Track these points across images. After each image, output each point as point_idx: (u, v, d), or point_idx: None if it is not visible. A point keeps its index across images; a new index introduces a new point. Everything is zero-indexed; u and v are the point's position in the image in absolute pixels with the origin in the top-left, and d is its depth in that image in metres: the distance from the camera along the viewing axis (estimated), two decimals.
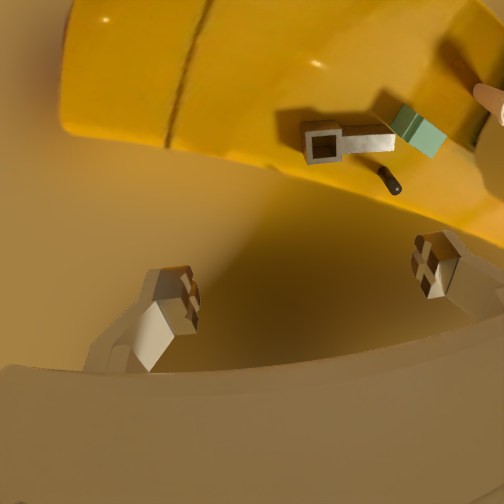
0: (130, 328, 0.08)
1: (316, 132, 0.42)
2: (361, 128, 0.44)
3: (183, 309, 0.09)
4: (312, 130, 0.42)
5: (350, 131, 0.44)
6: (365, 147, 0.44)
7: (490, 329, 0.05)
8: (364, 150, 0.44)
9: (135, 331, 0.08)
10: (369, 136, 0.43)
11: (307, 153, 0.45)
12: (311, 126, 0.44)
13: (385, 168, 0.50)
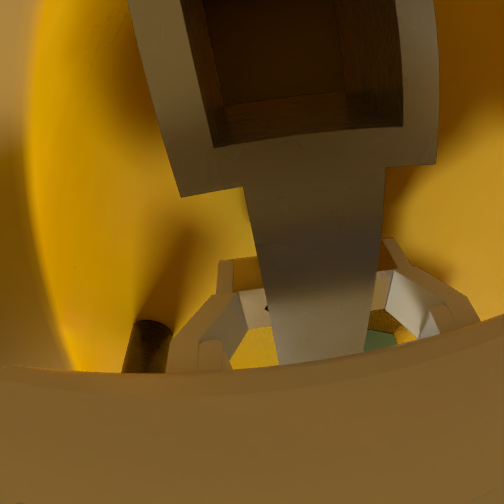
0: (214, 322, 0.08)
1: None
2: None
3: (264, 301, 0.09)
4: None
5: None
6: (299, 307, 0.08)
7: (490, 329, 0.05)
8: (280, 308, 0.08)
9: (218, 325, 0.08)
10: (361, 311, 0.09)
11: None
12: None
13: (169, 342, 0.15)
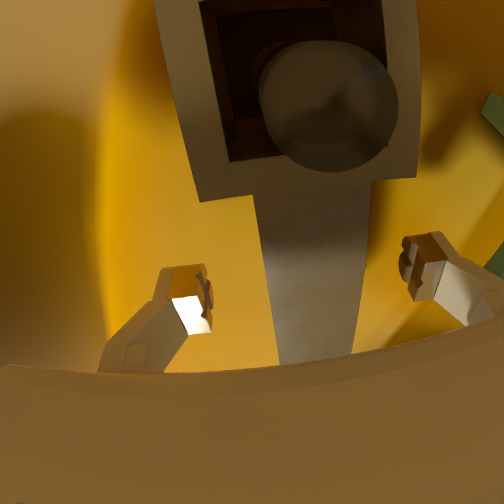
0: (145, 328, 0.08)
1: (407, 27, 0.05)
2: None
3: (198, 308, 0.09)
4: None
5: None
6: (296, 298, 0.10)
7: (490, 329, 0.05)
8: (280, 299, 0.10)
9: (150, 330, 0.08)
10: (352, 304, 0.10)
11: None
12: None
13: None
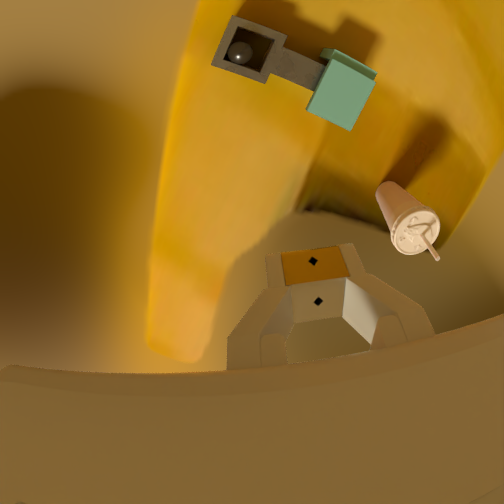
0: (271, 316, 0.08)
1: (248, 23, 0.23)
2: None
3: (315, 294, 0.09)
4: (244, 19, 0.23)
5: None
6: (309, 80, 0.27)
7: (490, 329, 0.05)
8: (306, 84, 0.27)
9: (274, 319, 0.08)
10: (323, 68, 0.26)
11: (219, 47, 0.24)
12: None
13: None
